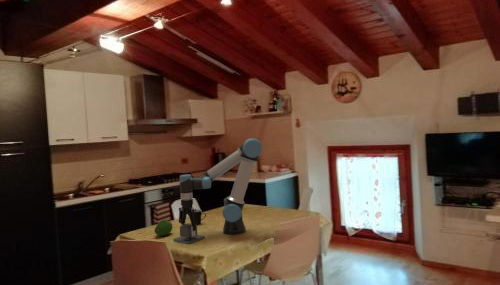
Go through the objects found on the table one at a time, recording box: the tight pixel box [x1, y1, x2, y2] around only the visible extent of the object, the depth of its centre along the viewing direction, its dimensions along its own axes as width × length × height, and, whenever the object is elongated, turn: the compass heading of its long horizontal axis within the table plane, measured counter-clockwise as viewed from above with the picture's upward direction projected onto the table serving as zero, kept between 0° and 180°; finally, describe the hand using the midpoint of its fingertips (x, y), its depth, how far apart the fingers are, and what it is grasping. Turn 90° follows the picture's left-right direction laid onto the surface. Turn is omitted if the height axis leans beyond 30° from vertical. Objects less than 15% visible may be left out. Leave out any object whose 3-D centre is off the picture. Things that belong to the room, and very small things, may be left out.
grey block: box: [179, 222, 198, 238], centre depth 240 cm, size 8×8×7 cm
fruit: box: [154, 219, 173, 236], centre depth 254 cm, size 15×10×10 cm, turn 157°
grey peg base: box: [172, 234, 206, 245], centre depth 241 cm, size 14×14×6 cm
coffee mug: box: [193, 209, 207, 226], centre depth 280 cm, size 12×9×10 cm
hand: (189, 234), depth 241 cm, fingers closed on grey block, 8 cm apart
